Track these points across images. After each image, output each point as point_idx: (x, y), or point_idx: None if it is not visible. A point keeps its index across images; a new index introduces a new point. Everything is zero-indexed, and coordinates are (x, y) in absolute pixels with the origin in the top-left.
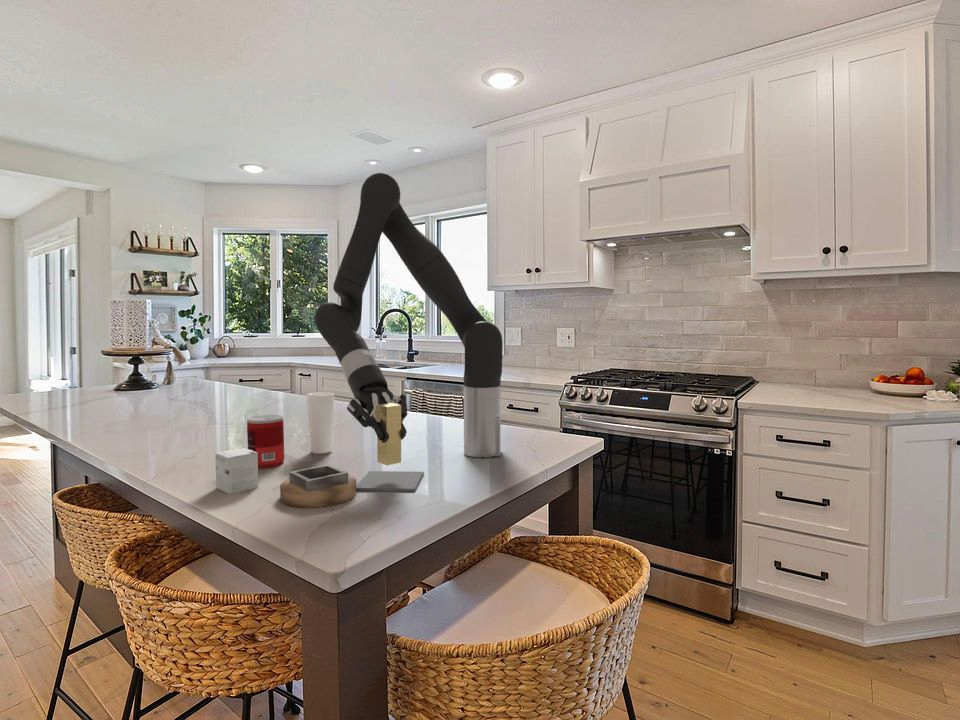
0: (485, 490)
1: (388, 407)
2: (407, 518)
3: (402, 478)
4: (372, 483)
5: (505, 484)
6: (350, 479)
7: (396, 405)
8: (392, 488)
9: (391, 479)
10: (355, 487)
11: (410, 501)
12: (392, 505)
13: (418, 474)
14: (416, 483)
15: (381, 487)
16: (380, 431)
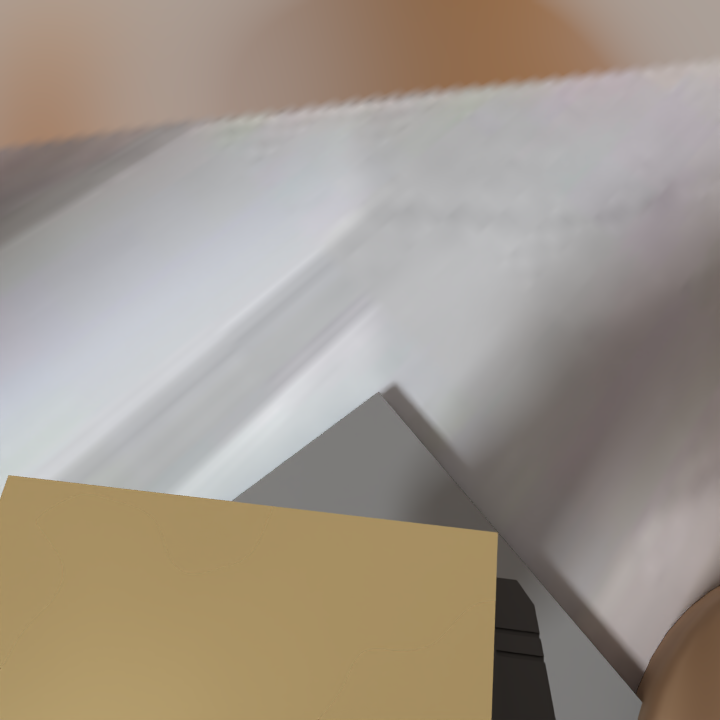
0: (145, 176)
1: (431, 530)
2: (640, 170)
3: None
4: None
5: (15, 168)
6: (718, 716)
7: (137, 516)
8: (464, 494)
9: None
10: (701, 618)
11: (497, 305)
12: (600, 325)
13: None
14: (300, 457)
15: (505, 562)
16: (525, 643)
